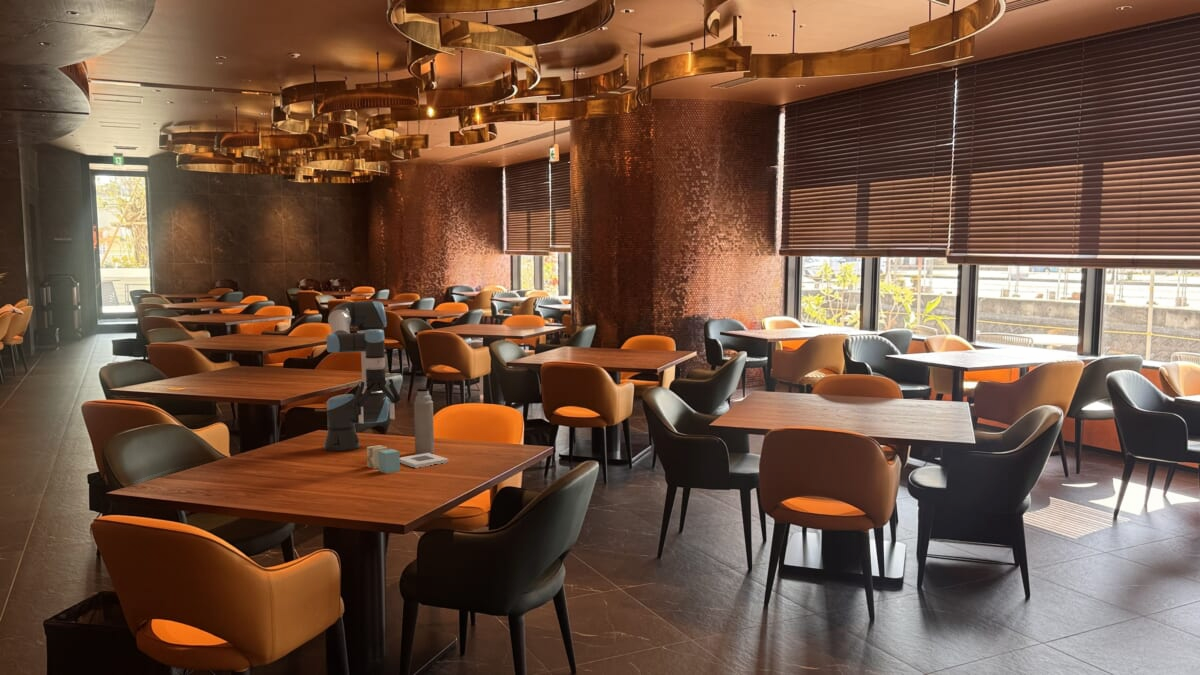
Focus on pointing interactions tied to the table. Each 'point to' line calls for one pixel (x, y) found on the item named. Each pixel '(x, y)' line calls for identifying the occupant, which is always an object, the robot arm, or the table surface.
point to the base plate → (422, 460)
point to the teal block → (389, 461)
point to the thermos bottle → (423, 422)
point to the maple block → (374, 456)
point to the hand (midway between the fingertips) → (377, 420)
